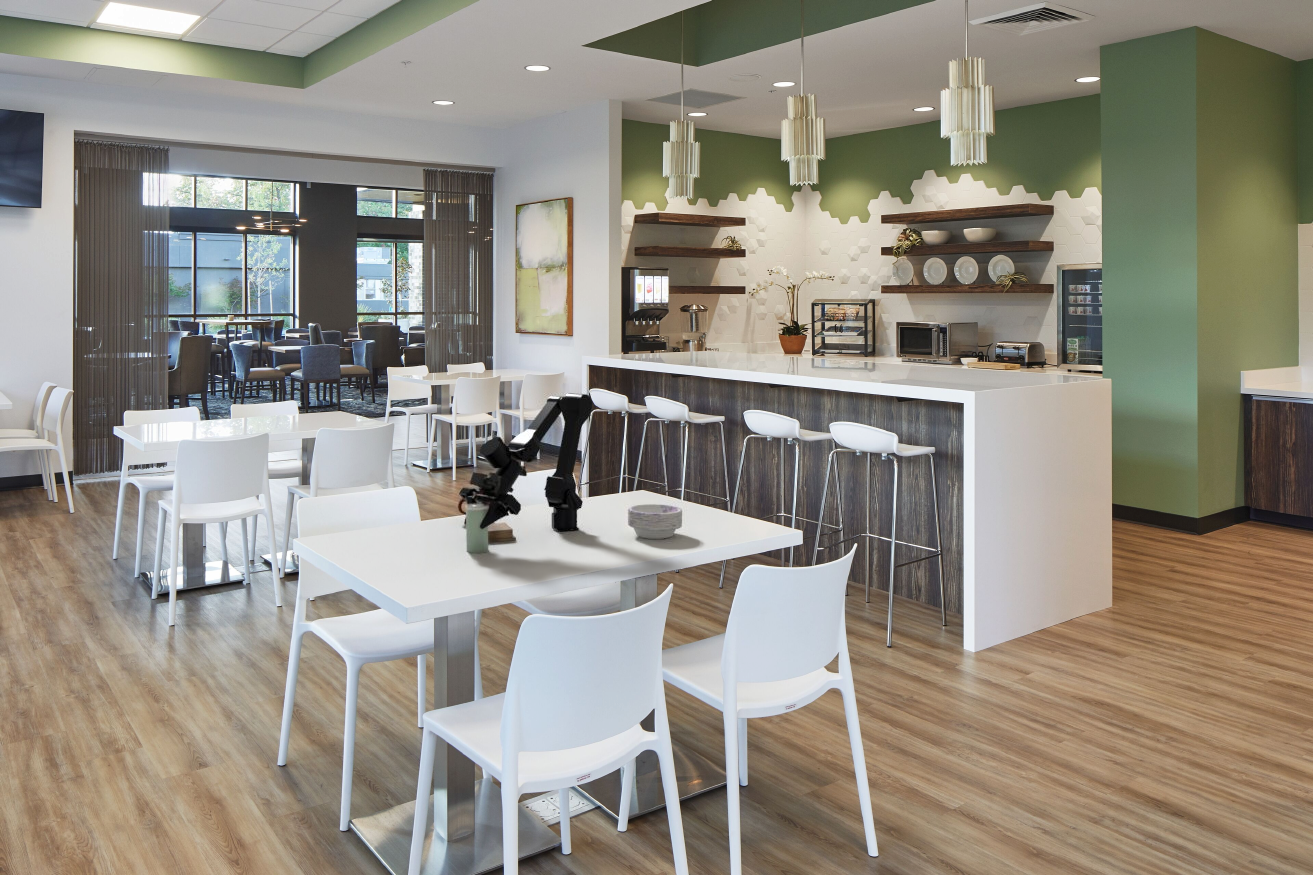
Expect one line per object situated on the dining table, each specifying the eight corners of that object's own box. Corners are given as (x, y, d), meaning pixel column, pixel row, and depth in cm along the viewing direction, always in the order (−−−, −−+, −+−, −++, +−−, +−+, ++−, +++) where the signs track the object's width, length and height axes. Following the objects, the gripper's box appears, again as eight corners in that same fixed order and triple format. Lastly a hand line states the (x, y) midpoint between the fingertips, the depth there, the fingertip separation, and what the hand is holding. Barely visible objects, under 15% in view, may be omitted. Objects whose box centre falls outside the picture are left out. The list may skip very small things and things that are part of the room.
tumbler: (486, 546, 264) (485, 502, 263) (491, 552, 259) (490, 506, 257) (463, 548, 262) (463, 504, 260) (468, 554, 256) (467, 508, 255)
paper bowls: (690, 533, 283) (690, 505, 282) (668, 544, 269) (668, 515, 268) (642, 528, 289) (642, 501, 288) (618, 538, 275) (618, 510, 274)
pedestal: (506, 532, 282) (506, 522, 281) (515, 540, 272) (515, 529, 272) (470, 535, 278) (470, 524, 277) (478, 543, 268) (478, 532, 268)
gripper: (463, 457, 266) (431, 503, 259) (512, 464, 255) (480, 513, 247) (486, 482, 273) (455, 528, 266) (534, 490, 262) (504, 538, 255)
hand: (473, 526), depth 258 cm, fingers closed on tumbler, 6 cm apart
